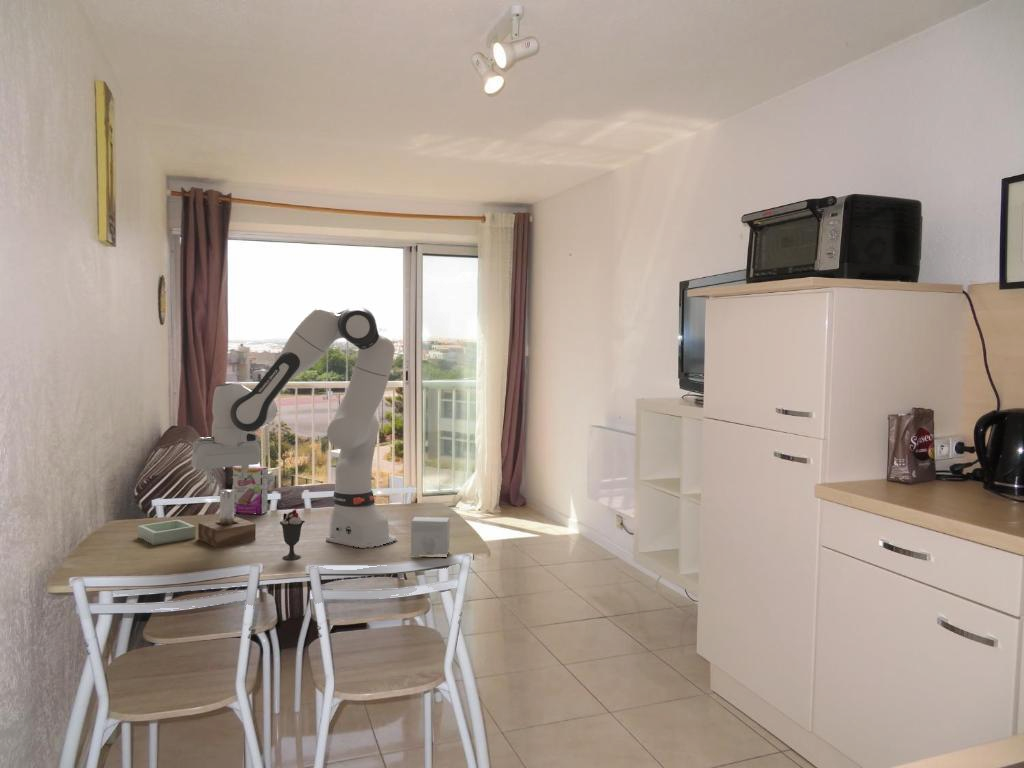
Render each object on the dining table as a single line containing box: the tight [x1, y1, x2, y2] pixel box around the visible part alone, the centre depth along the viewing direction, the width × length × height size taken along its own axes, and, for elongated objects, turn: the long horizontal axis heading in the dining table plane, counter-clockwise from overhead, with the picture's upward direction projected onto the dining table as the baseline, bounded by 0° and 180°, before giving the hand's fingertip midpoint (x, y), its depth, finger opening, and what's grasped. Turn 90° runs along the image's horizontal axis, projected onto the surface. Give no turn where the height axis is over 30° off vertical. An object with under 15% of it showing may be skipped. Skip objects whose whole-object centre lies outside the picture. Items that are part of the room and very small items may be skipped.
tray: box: [137, 519, 197, 546], centre depth 214 cm, size 12×12×4 cm
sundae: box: [279, 504, 305, 561], centre depth 196 cm, size 7×7×15 cm
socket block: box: [197, 516, 257, 548], centre depth 213 cm, size 12×12×5 cm
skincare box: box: [410, 516, 451, 557], centre depth 203 cm, size 10×6×10 cm, turn 89°
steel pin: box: [219, 488, 235, 526], centre depth 213 cm, size 4×4×15 cm
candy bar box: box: [231, 465, 269, 515], centre depth 248 cm, size 11×5×16 cm, turn 84°
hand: (226, 481), depth 213 cm, fingers open, 8 cm apart
